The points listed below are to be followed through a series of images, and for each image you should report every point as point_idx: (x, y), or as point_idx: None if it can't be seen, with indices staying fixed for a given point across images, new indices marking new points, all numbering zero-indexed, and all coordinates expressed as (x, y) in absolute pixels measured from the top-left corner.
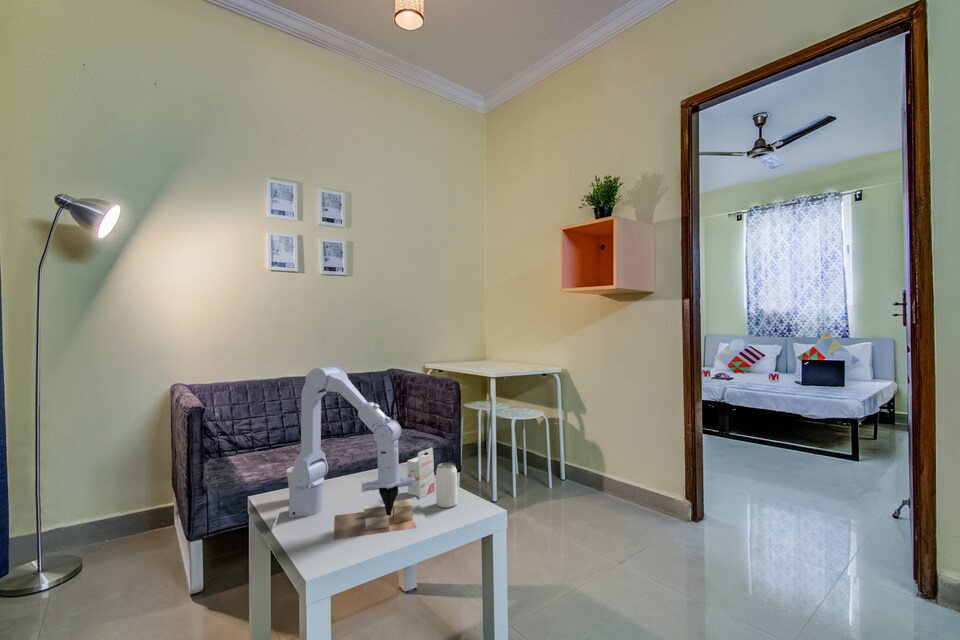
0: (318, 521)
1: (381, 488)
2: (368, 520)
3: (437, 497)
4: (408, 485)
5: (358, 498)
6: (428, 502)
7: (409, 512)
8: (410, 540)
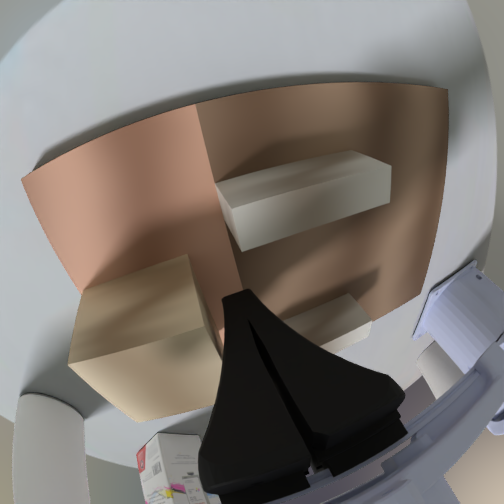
0: (442, 267)
1: (391, 444)
2: (376, 167)
3: (67, 432)
4: None
5: None
6: (116, 421)
7: (91, 320)
8: (50, 45)
